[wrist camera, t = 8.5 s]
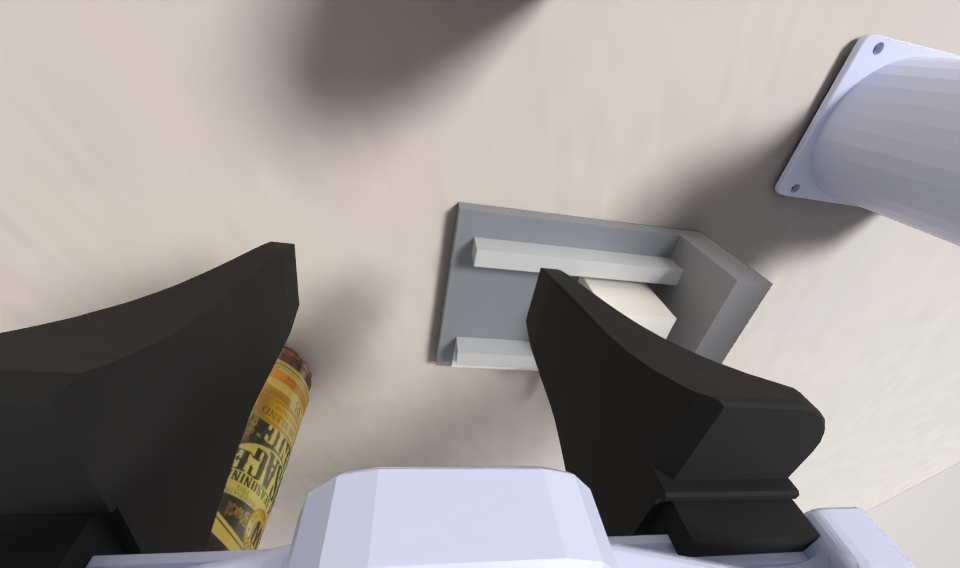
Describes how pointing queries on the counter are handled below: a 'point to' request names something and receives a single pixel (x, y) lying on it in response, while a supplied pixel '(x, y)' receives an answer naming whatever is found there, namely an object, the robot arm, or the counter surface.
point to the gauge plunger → (633, 302)
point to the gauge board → (588, 253)
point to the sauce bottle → (262, 456)
